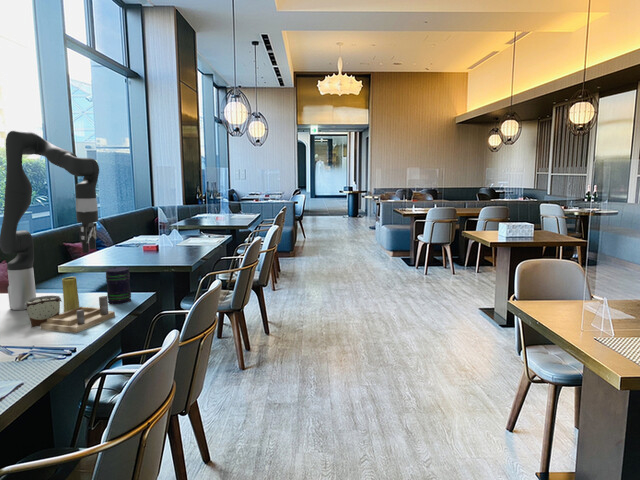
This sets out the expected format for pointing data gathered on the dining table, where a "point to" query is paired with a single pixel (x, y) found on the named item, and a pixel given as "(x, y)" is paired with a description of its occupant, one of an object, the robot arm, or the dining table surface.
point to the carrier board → (77, 327)
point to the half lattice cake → (42, 309)
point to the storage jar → (118, 285)
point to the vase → (70, 293)
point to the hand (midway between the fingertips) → (89, 250)
